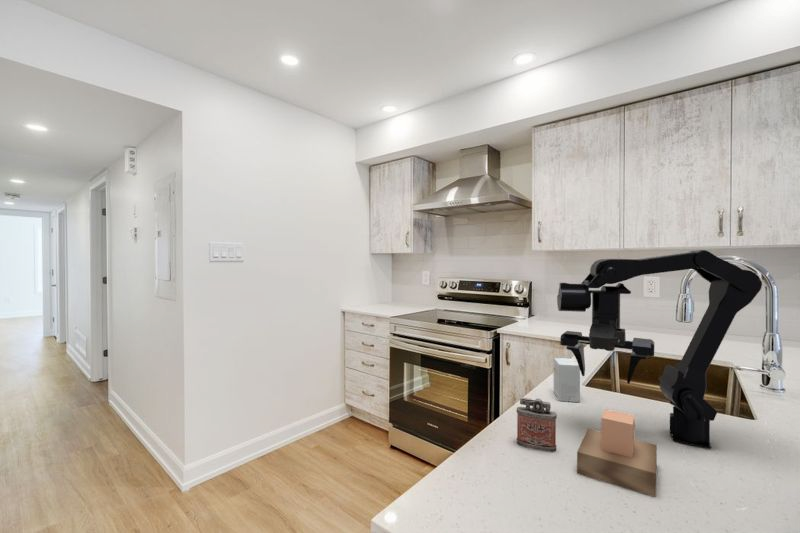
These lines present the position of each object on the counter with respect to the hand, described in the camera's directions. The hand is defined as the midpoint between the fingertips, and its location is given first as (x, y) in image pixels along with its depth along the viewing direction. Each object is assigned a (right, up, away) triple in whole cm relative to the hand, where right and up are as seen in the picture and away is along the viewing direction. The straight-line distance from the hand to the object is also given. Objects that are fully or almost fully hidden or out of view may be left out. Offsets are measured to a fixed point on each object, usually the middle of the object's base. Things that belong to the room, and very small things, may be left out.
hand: (605, 379), depth 86 cm
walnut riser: (-7, -12, -16) cm, 21 cm away
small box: (+1, -12, +22) cm, 25 cm away
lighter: (-19, -12, -7) cm, 24 cm away
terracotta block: (-7, -8, -16) cm, 19 cm away
